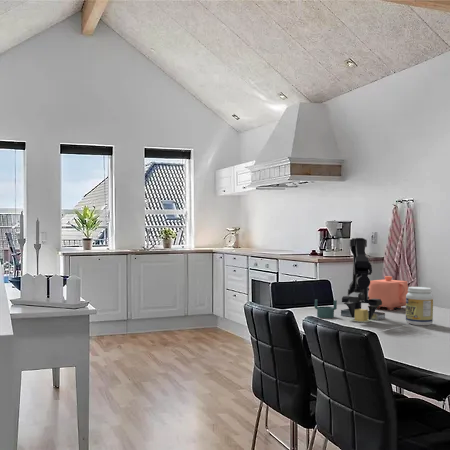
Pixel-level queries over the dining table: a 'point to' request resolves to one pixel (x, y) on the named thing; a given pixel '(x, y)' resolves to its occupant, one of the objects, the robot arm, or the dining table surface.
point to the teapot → (389, 292)
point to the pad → (361, 321)
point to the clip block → (361, 314)
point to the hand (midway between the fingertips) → (361, 318)
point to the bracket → (325, 310)
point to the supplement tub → (419, 306)
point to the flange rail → (375, 316)
